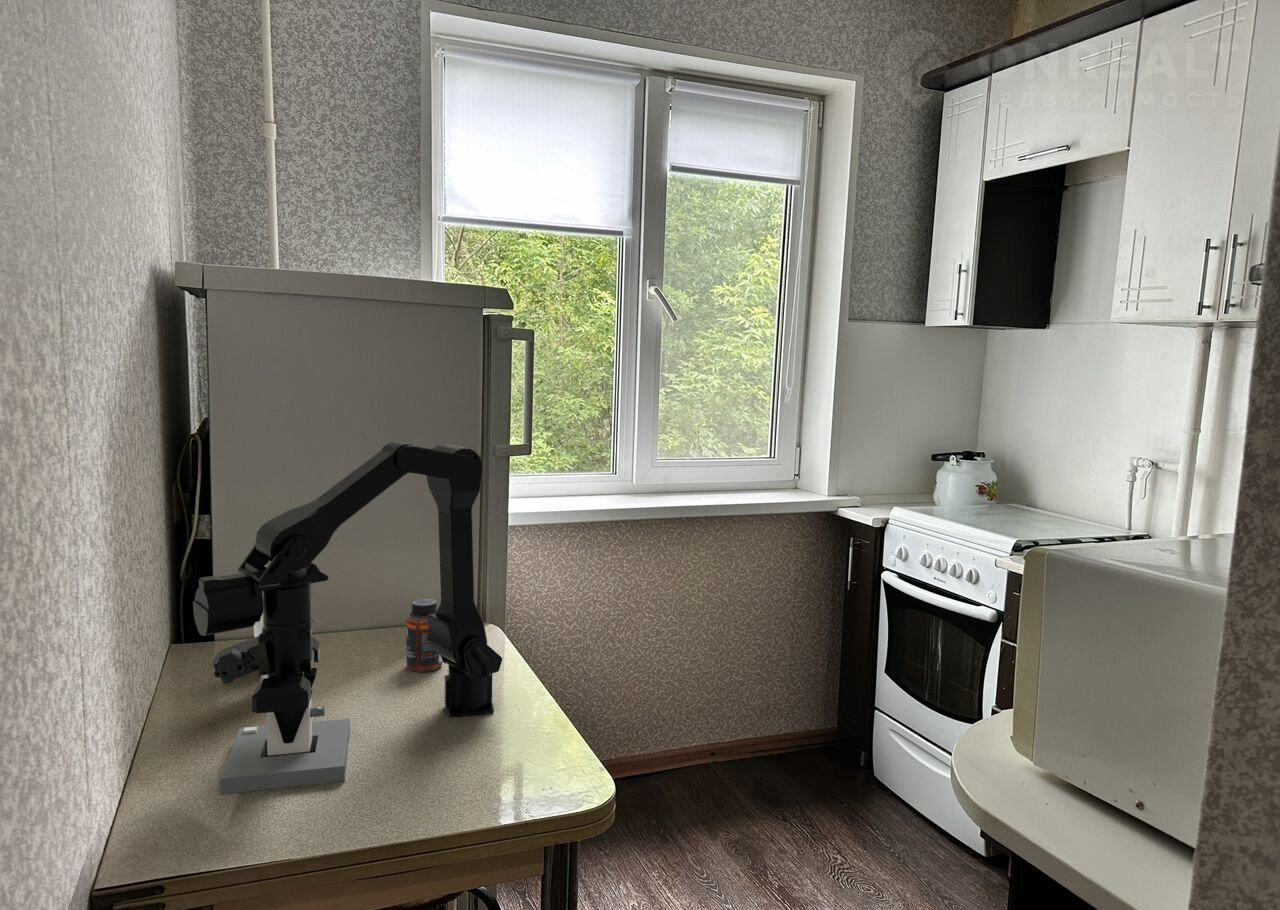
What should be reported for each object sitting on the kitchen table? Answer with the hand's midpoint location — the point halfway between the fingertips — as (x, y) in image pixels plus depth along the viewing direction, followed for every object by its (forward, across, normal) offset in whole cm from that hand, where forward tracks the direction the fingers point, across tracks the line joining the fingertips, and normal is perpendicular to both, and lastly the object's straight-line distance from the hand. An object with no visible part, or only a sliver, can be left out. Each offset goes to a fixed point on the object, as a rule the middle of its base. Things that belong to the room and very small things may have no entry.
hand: (290, 736), depth 110 cm
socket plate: (+3, 0, 0) cm, 3 cm away
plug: (+2, 0, 0) cm, 2 cm away
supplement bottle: (+4, -30, +18) cm, 35 cm away
